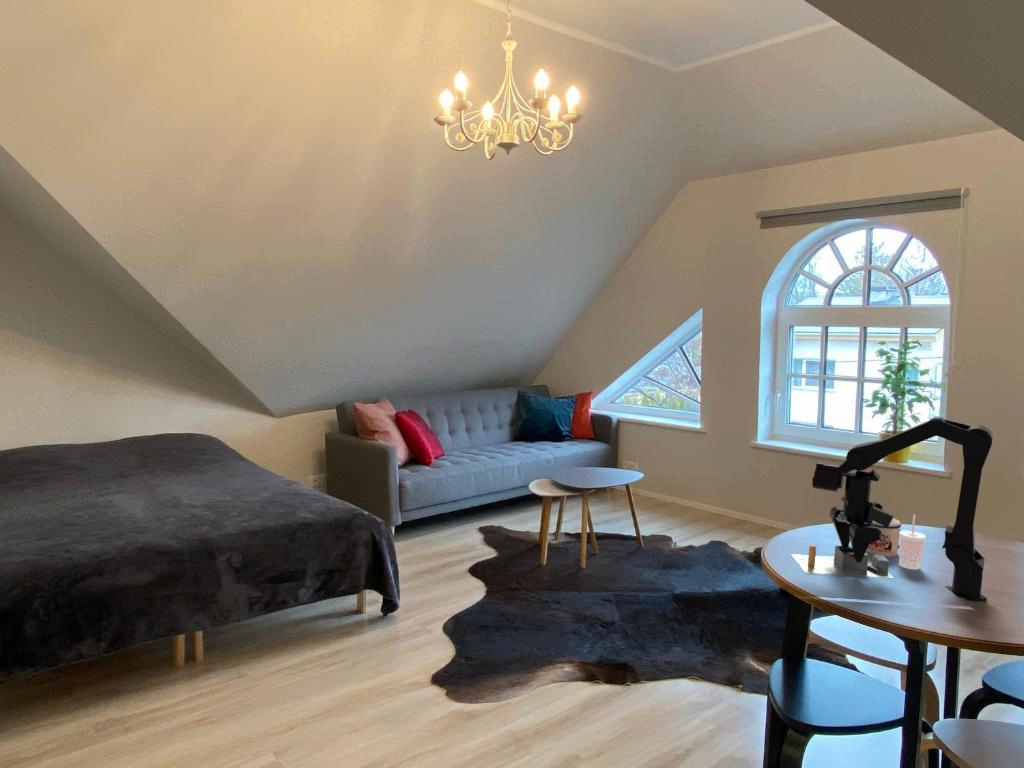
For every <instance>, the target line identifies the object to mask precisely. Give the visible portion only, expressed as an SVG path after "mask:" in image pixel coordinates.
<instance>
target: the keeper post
mask: <svg viewBox="0 0 1024 768" xmlns="http://www.w3.org/2000/svg"><path fill="white" fill-rule="evenodd" d="M816 552H817V545H815V544H814V545H813V544H810V545H809V549H808V555H809V558H808V565H809V566H815V556H817V553H816Z"/></svg>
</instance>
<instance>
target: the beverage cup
mask: <svg viewBox="0 0 1024 768" xmlns="http://www.w3.org/2000/svg"><path fill="white" fill-rule="evenodd" d="M915 522H916V514H913V517H912V525H911V526H912V527H911V530H906V529H902V530H903V531H900V532H899V546H900V549H899V553H898V554H899V556H898V557H899V558H898V564H899V566H900V567H902V568H904V569H909V570H919V569H920V568H921V563H922V557H923V552H924V546H925V541H926V540H927V539H926V538H927V536H926V534H924V533H922V532H920V531H916V530H915V525H916V523H915Z"/></svg>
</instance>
